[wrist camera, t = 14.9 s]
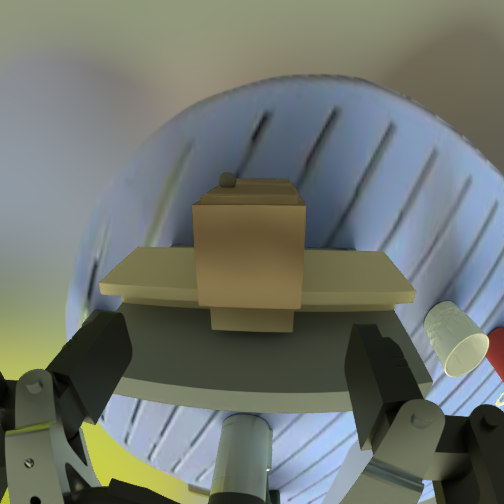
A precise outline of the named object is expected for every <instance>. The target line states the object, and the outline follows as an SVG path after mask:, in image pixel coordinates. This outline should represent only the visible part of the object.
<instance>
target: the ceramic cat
mask: <svg viewBox="0 0 504 504" xmlns="http://www.w3.org/2000/svg"><path fill="white" fill-rule="evenodd" d="M265 504H280V493H279V491H276V490H273V491H269V490H268V475H267V481H266V499H265Z"/></svg>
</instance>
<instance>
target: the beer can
mask: <svg viewBox="0 0 504 504" xmlns="http://www.w3.org/2000/svg"><path fill="white" fill-rule="evenodd" d="M488 338H489V347H488V350H487V353H486V355H485V356H486V358H487V359H488V360H489V362H490V363H491V365H492V366H493V368H494V369H495V370H496V372H497V373H498V375H499V376H500V378H501V379H502V381H503V382H504V328H503V327H499V328H496V329H495V330H493V331H492V332H491V333H490V334H489V335H488Z"/></svg>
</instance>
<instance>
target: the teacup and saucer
mask: <svg viewBox="0 0 504 504" xmlns="http://www.w3.org/2000/svg"><path fill="white" fill-rule="evenodd" d="M503 394H504V392H503V393H502V394H501V395H500V396H499V398H498V399H497V401H496V406H497V407H499V406H502V405H504V402H502V403H500V402H499V400H500V398H501V397H502V395H503Z"/></svg>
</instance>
